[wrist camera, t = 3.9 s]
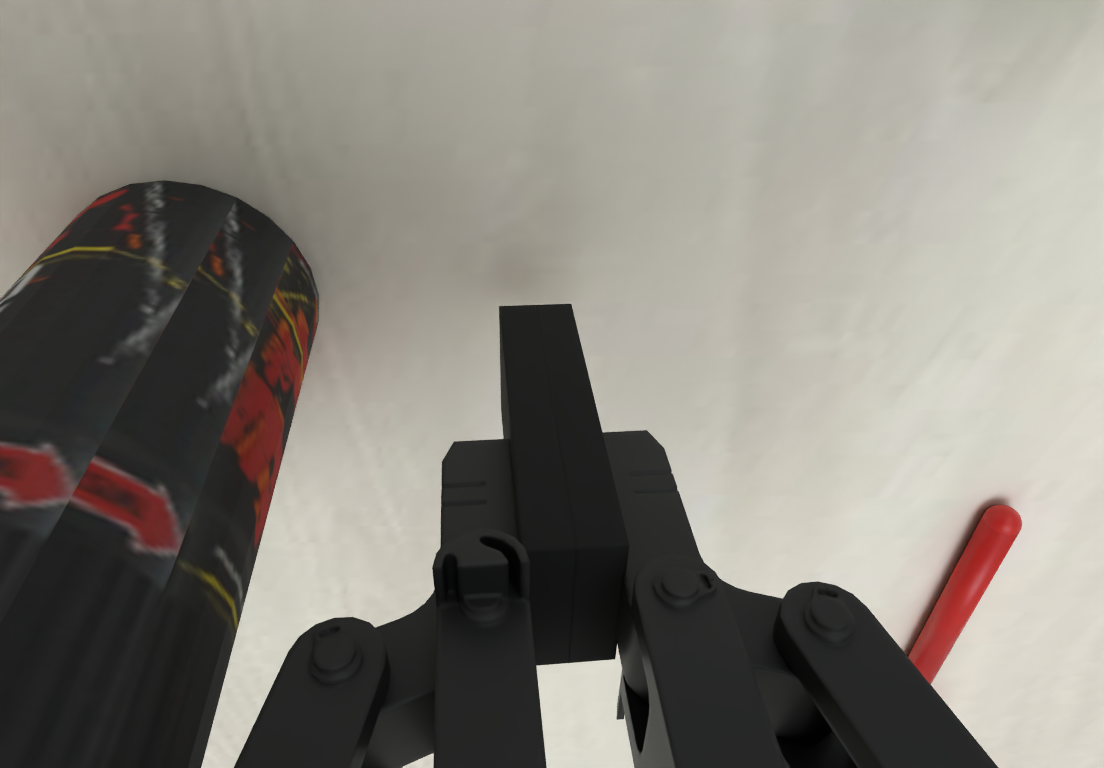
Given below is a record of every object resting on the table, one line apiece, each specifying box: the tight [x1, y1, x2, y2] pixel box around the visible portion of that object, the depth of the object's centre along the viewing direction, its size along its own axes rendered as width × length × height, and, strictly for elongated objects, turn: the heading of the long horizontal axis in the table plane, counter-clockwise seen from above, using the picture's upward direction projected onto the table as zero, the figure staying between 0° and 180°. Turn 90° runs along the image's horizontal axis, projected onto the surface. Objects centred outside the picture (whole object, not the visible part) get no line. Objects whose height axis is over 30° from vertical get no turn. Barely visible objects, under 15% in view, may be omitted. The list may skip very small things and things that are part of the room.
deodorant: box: [0, 181, 318, 768], centre depth 13 cm, size 6×6×15 cm
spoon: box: [908, 505, 1022, 685], centre depth 31 cm, size 16×4×1 cm, turn 178°
